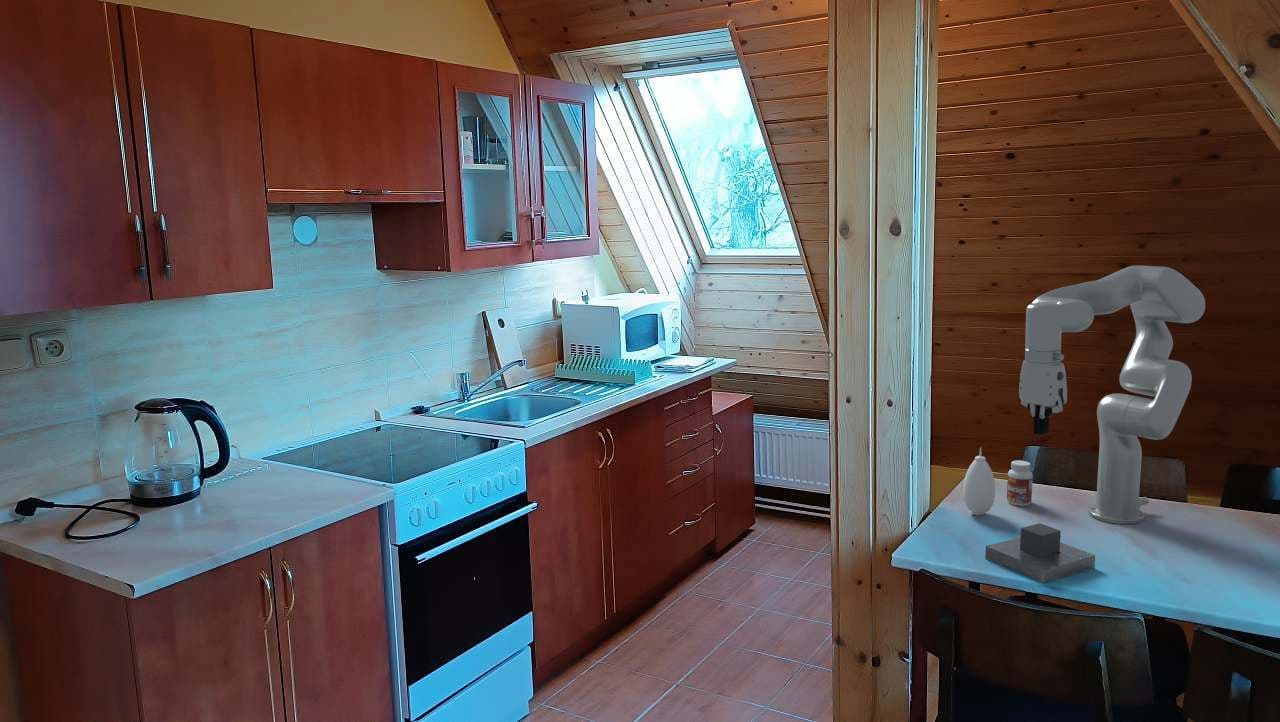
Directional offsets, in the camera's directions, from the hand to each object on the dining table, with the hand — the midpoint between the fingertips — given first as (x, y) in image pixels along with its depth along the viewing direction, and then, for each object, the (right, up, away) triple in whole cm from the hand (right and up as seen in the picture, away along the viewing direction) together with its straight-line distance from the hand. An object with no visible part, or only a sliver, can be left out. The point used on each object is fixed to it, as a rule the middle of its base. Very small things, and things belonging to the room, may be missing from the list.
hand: (1040, 433), depth 217 cm
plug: (-4, -28, -9) cm, 30 cm away
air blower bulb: (-6, -23, +24) cm, 34 cm away
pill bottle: (+8, -21, +32) cm, 39 cm away
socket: (-4, -29, -9) cm, 30 cm away
